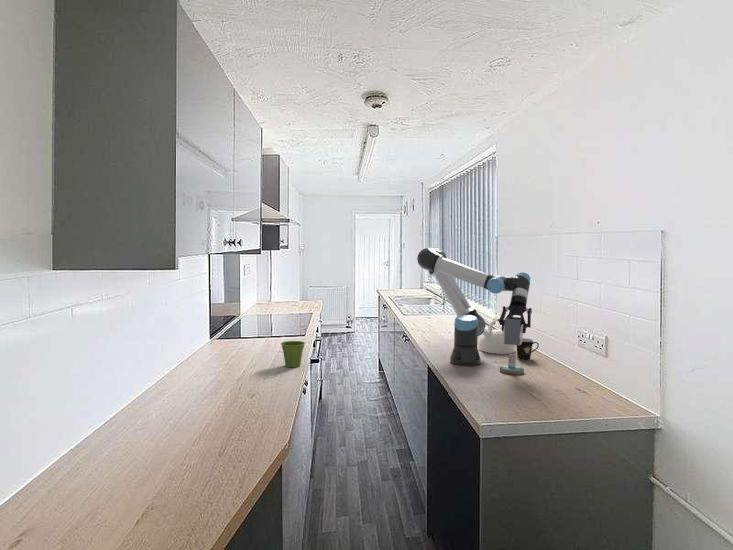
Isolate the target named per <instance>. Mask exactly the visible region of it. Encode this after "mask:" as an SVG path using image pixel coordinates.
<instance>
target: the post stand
mask: <svg viewBox="0 0 733 550" xmlns="http://www.w3.org/2000/svg"><path fill="white" fill-rule="evenodd" d="M516 356H517V355H515V354H514V353H510V354H509V355H508V359H507V360H508V364H505V365H500V366H499V373H501V374H505V375H508V376H509V375H511V376H521V375H524V374H525V368H523V367H521V366H519V365H516V362H517V361H516V358H517V357H516Z"/></svg>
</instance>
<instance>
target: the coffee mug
mask: <svg viewBox="0 0 733 550" xmlns="http://www.w3.org/2000/svg"><path fill="white" fill-rule="evenodd" d="M534 344H536V345H537V347H536V348H534V349H533V345H534ZM515 347H516V356H517V357H516V358H517V359H518V358H519V359H518V360H521V359H524V360H523V361H529V360H528V359H530V360H531V355H532V353H533V352H535V351H536V350H538V348H539V343H538V342H537V341H534V339H531V338H525V337H522V344H521V345H520V346H519V345H515Z"/></svg>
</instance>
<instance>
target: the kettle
mask: <svg viewBox="0 0 733 550" xmlns="http://www.w3.org/2000/svg"><path fill="white" fill-rule="evenodd" d="M499 319H500V318H495V319H492V320H491V321H490V323H489V325H488V328H487V329H486V328H485V330H484V332H483V333H482V334H481V335H482V336H480V339H479V341H478V342H479V343H478V348H479V349H478V351H479V350H480V351H481V352H483V351H484V353H487V352H488V354H494V353H496V354H495V355H508V354H509V353H510V354H514V353H515V352H516V350H515V347H516V346H515V345H509V344H504V338H503V331H502V329H493V326H494V324H495V323H496V322H499ZM504 320H505V319H504ZM504 320H503V321H504ZM510 354H509V355H510Z"/></svg>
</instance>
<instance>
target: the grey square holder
mask: <svg viewBox="0 0 733 550" xmlns="http://www.w3.org/2000/svg"><path fill="white" fill-rule="evenodd" d="M506 317H507V316H506ZM506 317H505V318H504V320H505V335H504V344H509V345H514V346H516V345H519V346H520V345H521V344H522V340H520V331H521V326H522V325H523V322H522V320H523V318H521V317H520V316H517V317H516V316H513V317H507V318H506Z"/></svg>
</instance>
